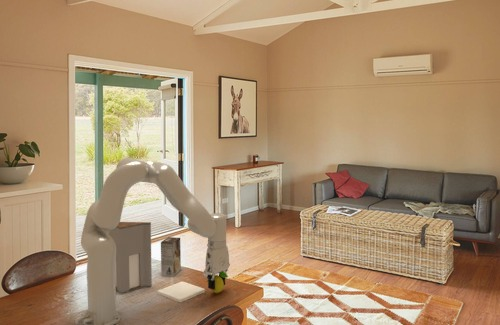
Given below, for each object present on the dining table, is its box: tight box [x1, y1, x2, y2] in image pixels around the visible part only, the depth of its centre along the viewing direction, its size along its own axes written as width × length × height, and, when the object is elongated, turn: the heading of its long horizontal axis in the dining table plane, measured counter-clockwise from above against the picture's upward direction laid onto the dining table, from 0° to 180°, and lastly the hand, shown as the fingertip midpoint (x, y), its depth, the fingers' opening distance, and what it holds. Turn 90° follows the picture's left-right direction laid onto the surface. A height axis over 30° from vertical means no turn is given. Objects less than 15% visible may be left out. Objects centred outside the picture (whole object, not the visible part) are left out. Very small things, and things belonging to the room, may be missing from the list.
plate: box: [156, 280, 206, 303], centre depth 180 cm, size 14×14×1 cm
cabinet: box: [109, 221, 153, 295], centre depth 182 cm, size 21×10×28 cm, turn 88°
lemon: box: [206, 272, 229, 294], centre depth 179 cm, size 7×6×10 cm
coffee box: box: [160, 236, 182, 278], centre depth 202 cm, size 9×6×16 cm
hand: (216, 286), depth 179 cm, fingers closed on lemon, 5 cm apart
